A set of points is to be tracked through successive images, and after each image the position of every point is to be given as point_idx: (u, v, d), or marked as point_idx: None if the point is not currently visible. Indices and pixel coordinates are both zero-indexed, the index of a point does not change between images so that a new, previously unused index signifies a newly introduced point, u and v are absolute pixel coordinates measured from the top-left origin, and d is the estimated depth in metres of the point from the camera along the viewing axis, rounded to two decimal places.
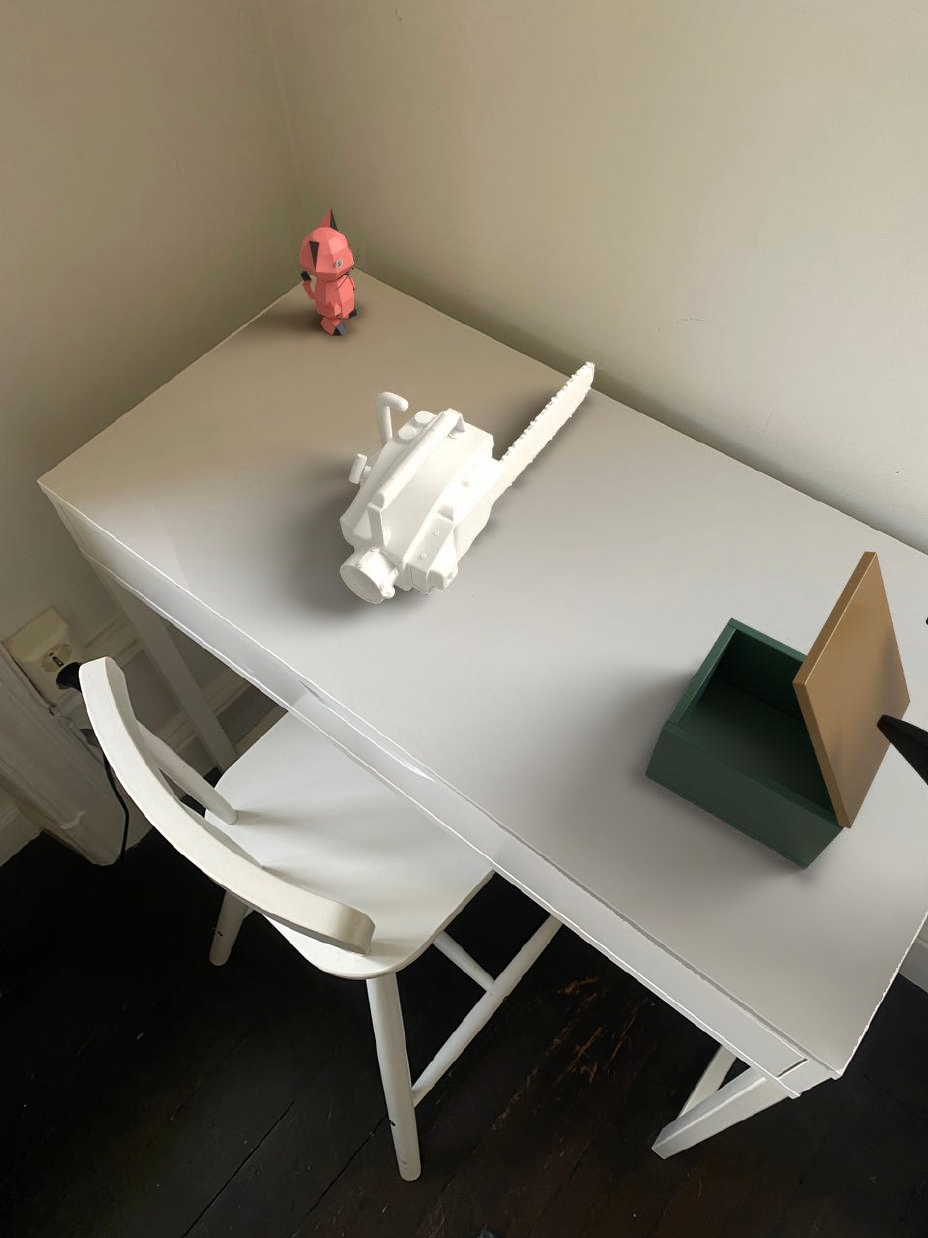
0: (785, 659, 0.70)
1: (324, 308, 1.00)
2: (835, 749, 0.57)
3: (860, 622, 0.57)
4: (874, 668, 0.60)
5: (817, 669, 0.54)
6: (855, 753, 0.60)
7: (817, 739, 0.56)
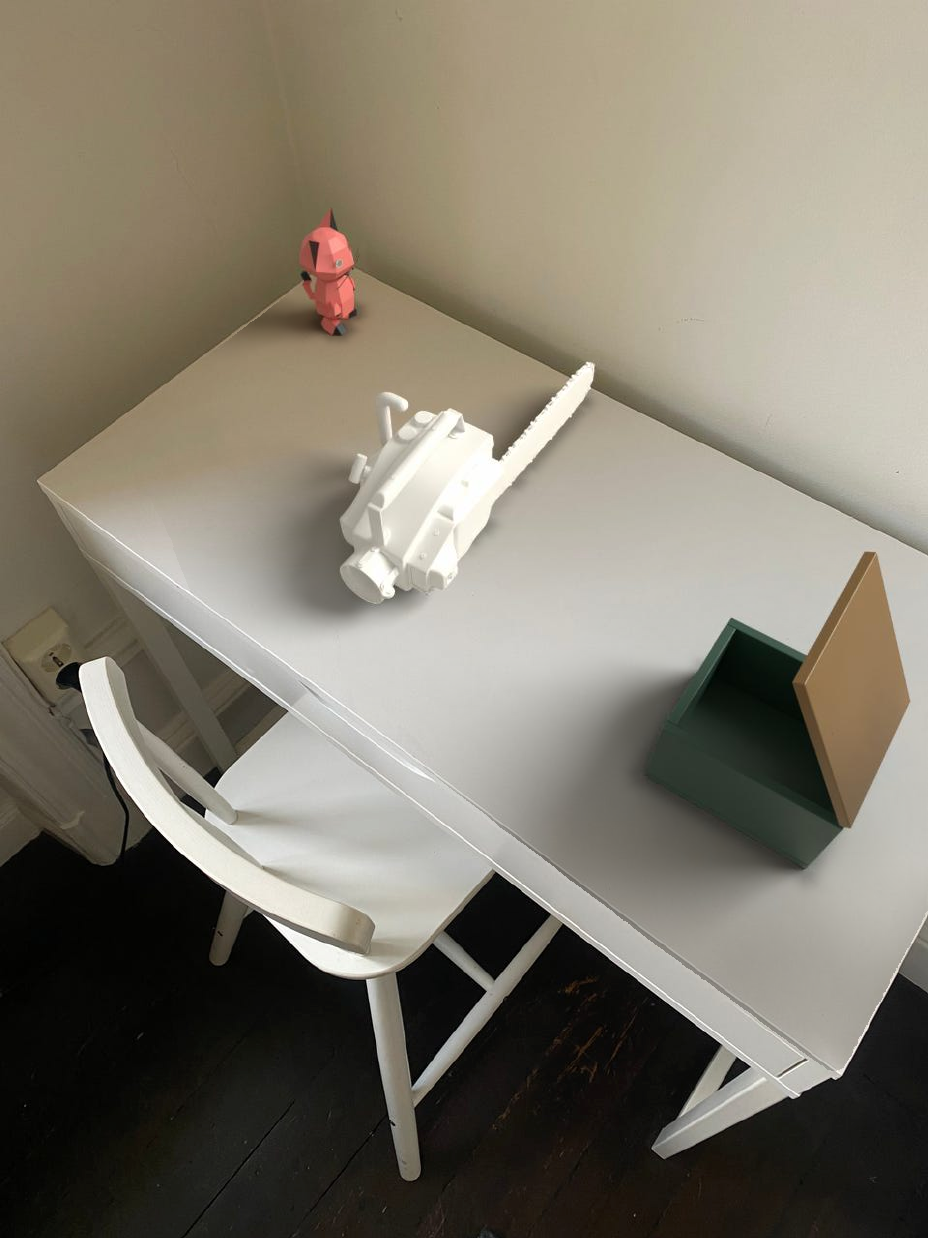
0: (785, 659, 0.70)
1: (324, 308, 1.00)
2: (835, 749, 0.57)
3: (860, 622, 0.57)
4: (874, 668, 0.60)
5: (817, 669, 0.54)
6: (855, 753, 0.60)
7: (817, 739, 0.56)
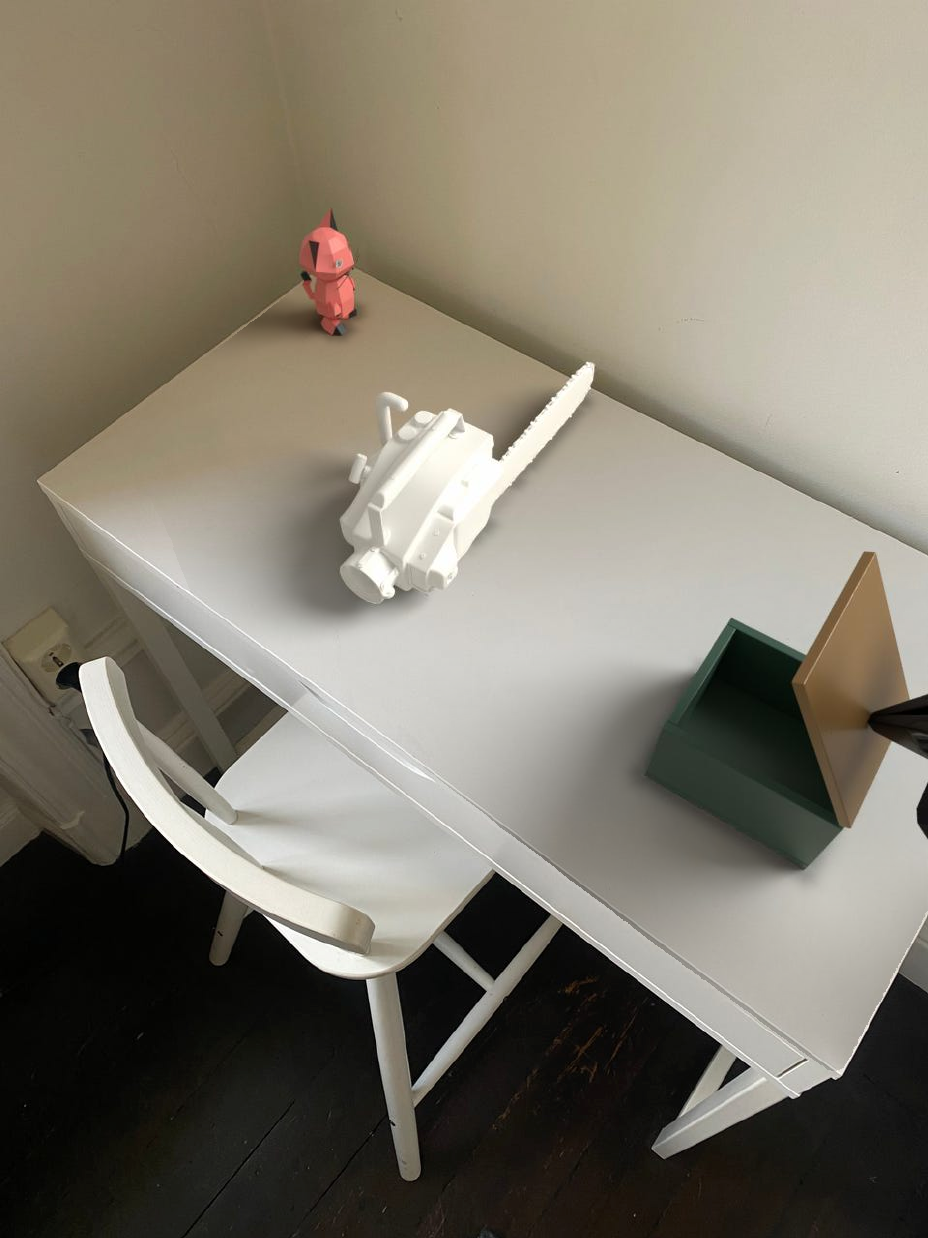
0: (785, 659, 0.70)
1: (324, 308, 1.00)
2: (835, 749, 0.57)
3: (859, 622, 0.57)
4: (874, 668, 0.60)
5: (816, 669, 0.54)
6: (854, 753, 0.60)
7: (816, 739, 0.56)
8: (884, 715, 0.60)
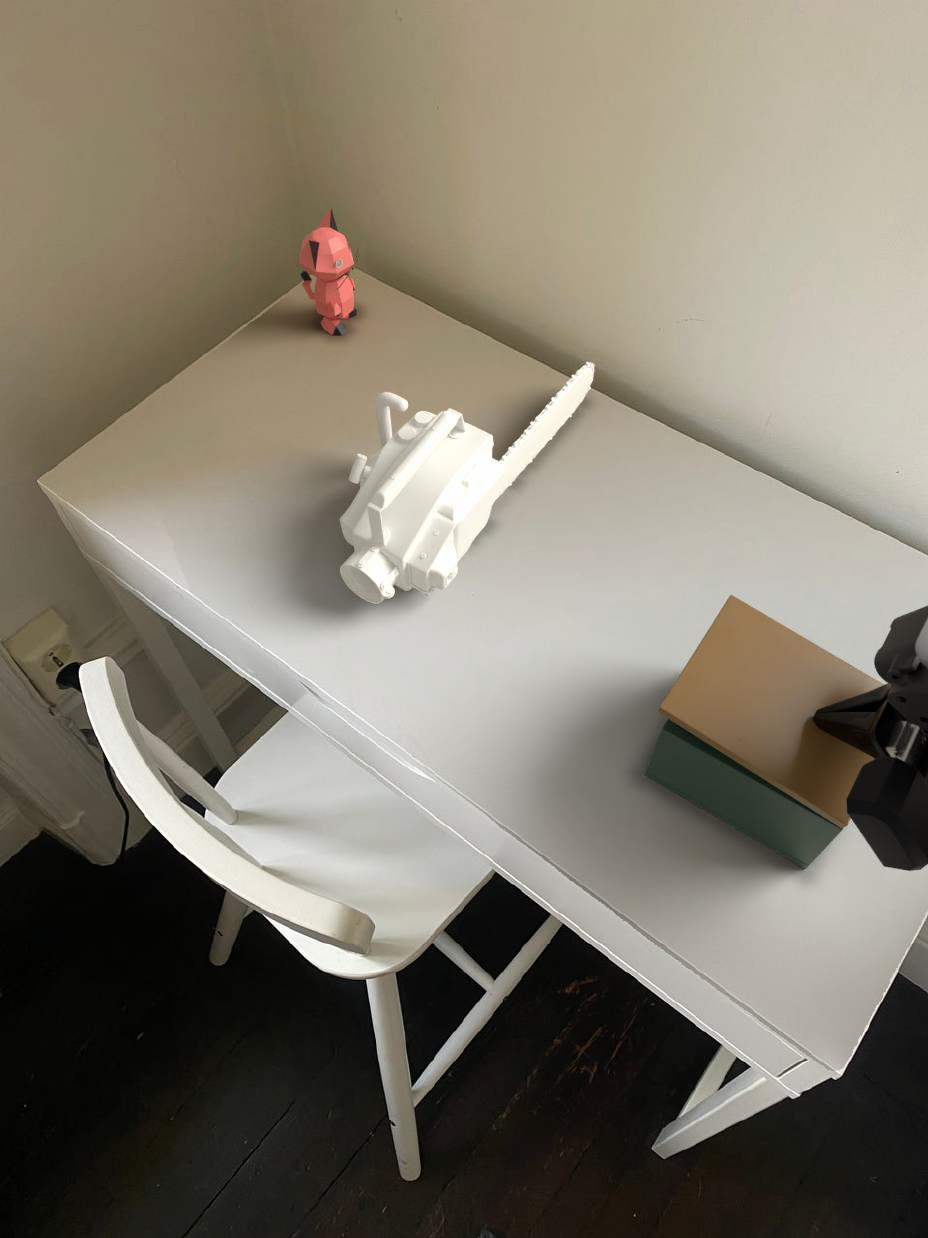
0: None
1: (324, 308, 1.00)
2: (757, 753, 0.63)
3: (736, 648, 0.67)
4: (794, 679, 0.66)
5: (676, 693, 0.65)
6: (804, 754, 0.63)
7: (722, 750, 0.63)
8: (827, 712, 0.63)
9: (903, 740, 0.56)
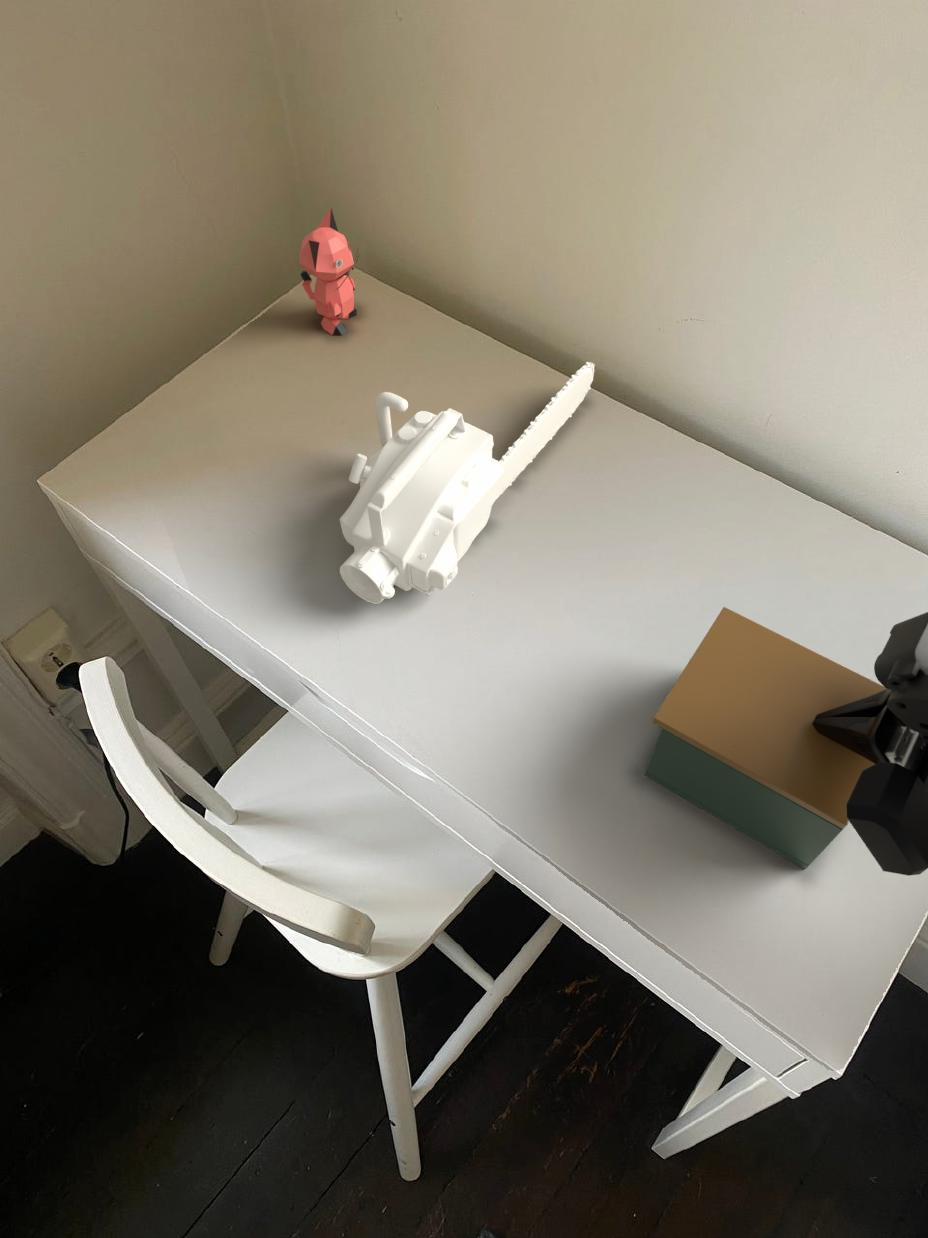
0: None
1: (324, 308, 1.00)
2: (752, 758, 0.64)
3: (729, 658, 0.68)
4: (789, 684, 0.67)
5: (669, 703, 0.66)
6: (801, 757, 0.64)
7: (717, 756, 0.64)
8: (827, 717, 0.63)
9: (902, 745, 0.57)
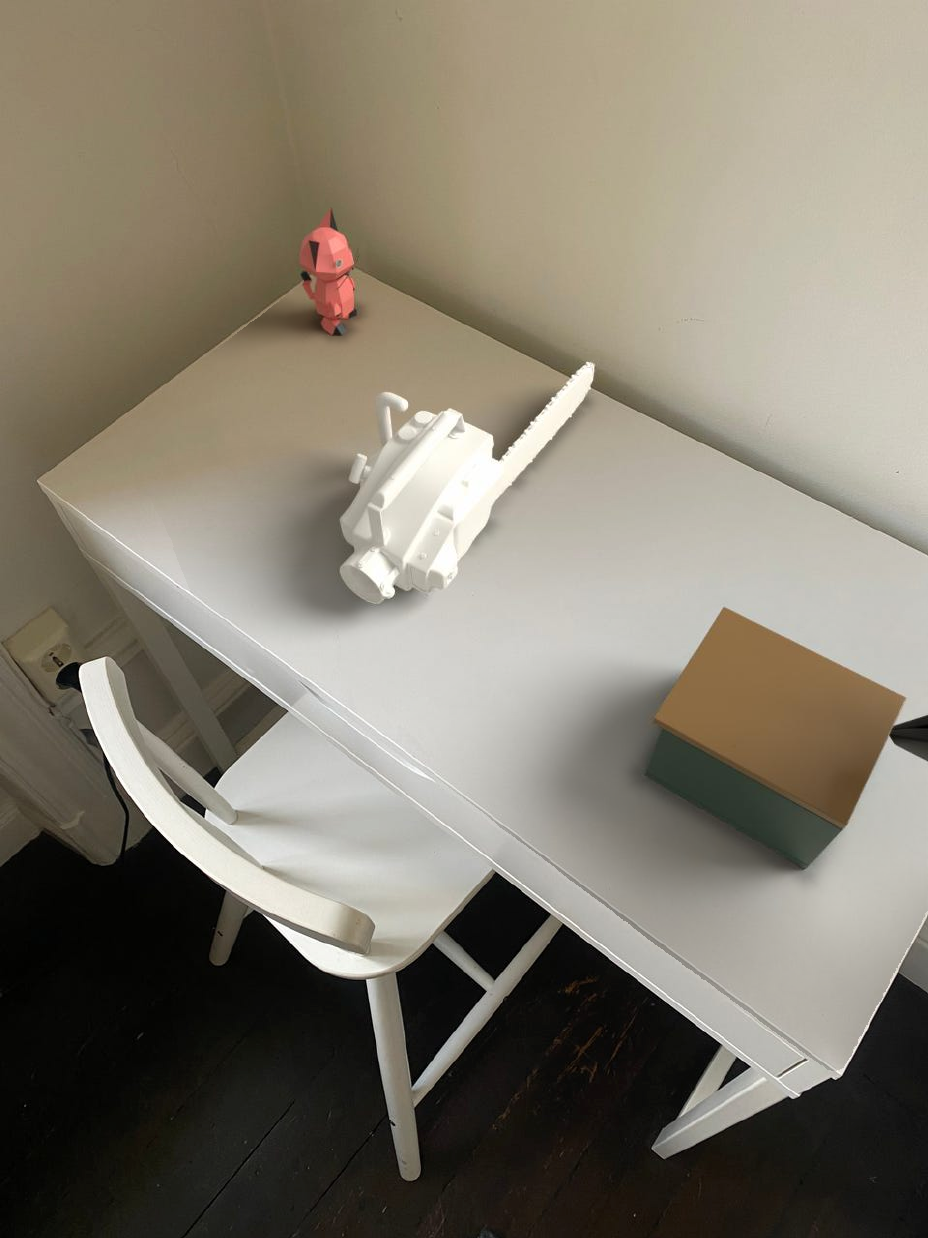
0: None
1: (324, 308, 1.00)
2: (752, 758, 0.64)
3: (729, 658, 0.68)
4: (789, 684, 0.67)
5: (669, 703, 0.66)
6: (801, 757, 0.64)
7: (717, 756, 0.64)
8: (906, 728, 0.59)
9: None
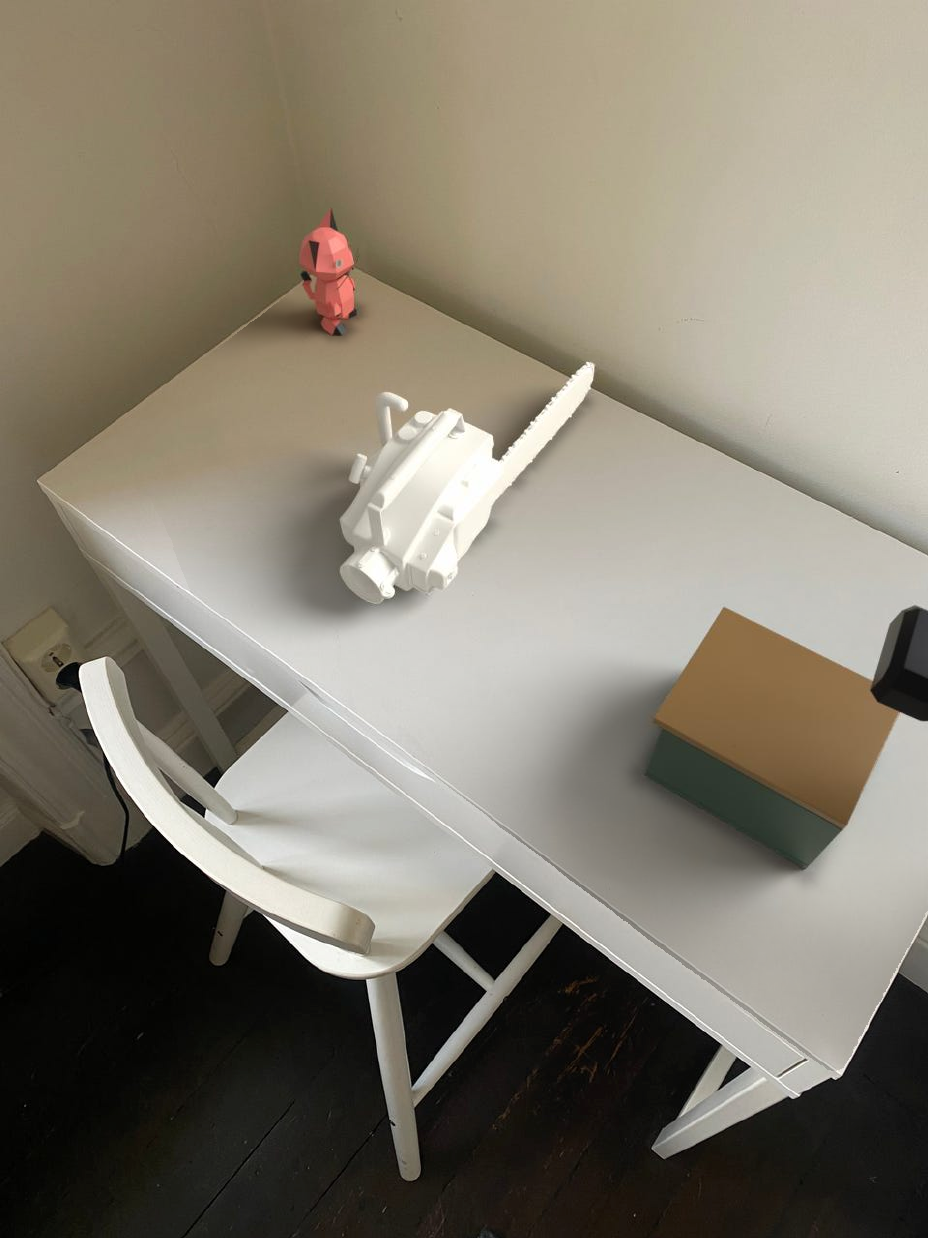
0: None
1: (324, 308, 1.00)
2: (752, 758, 0.64)
3: (729, 658, 0.68)
4: (789, 684, 0.67)
5: (669, 703, 0.66)
6: (801, 757, 0.64)
7: (717, 756, 0.64)
8: None
9: None
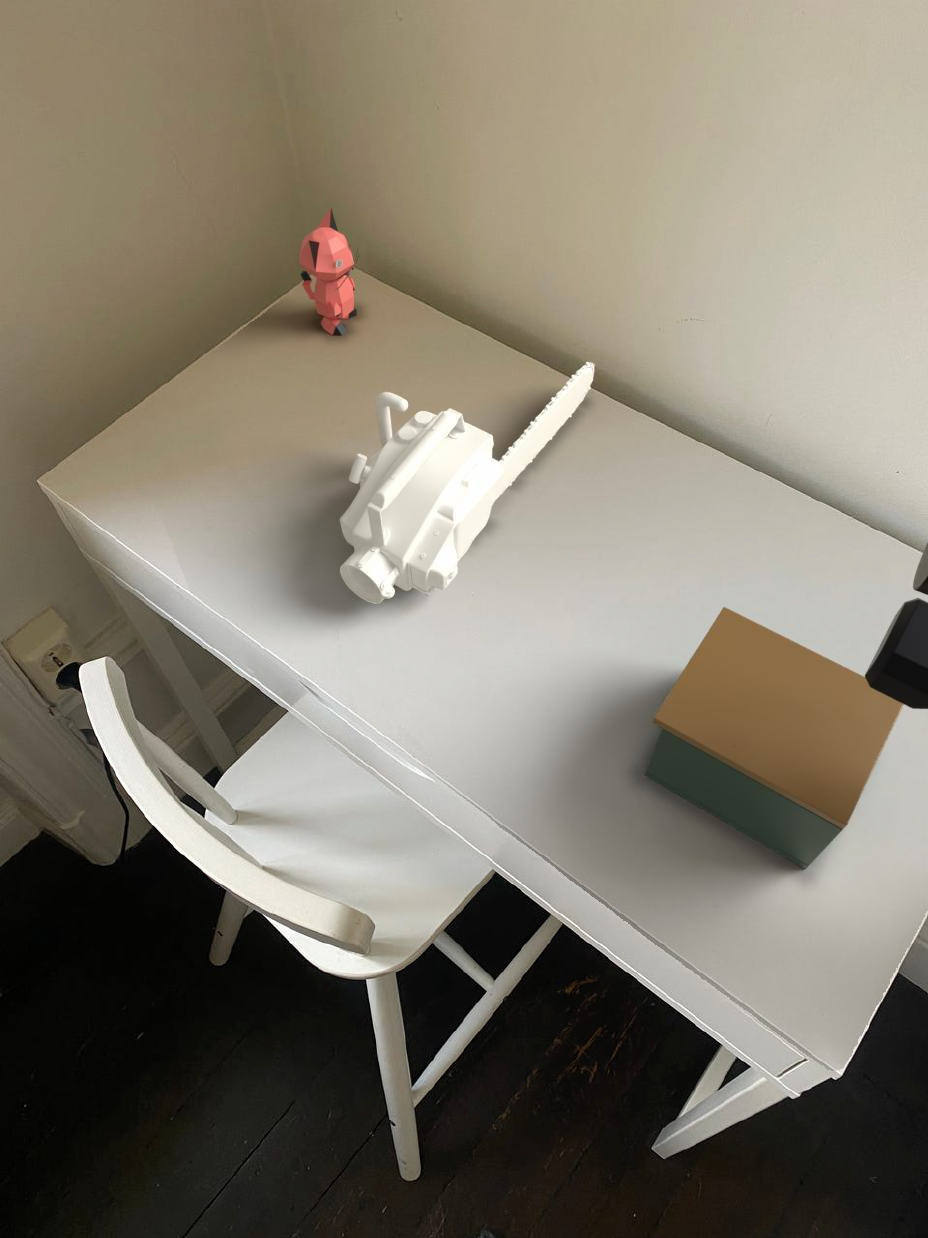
0: None
1: (324, 308, 1.00)
2: (752, 758, 0.64)
3: (729, 658, 0.68)
4: (789, 684, 0.67)
5: (669, 703, 0.66)
6: (801, 757, 0.64)
7: (717, 756, 0.64)
8: None
9: None
